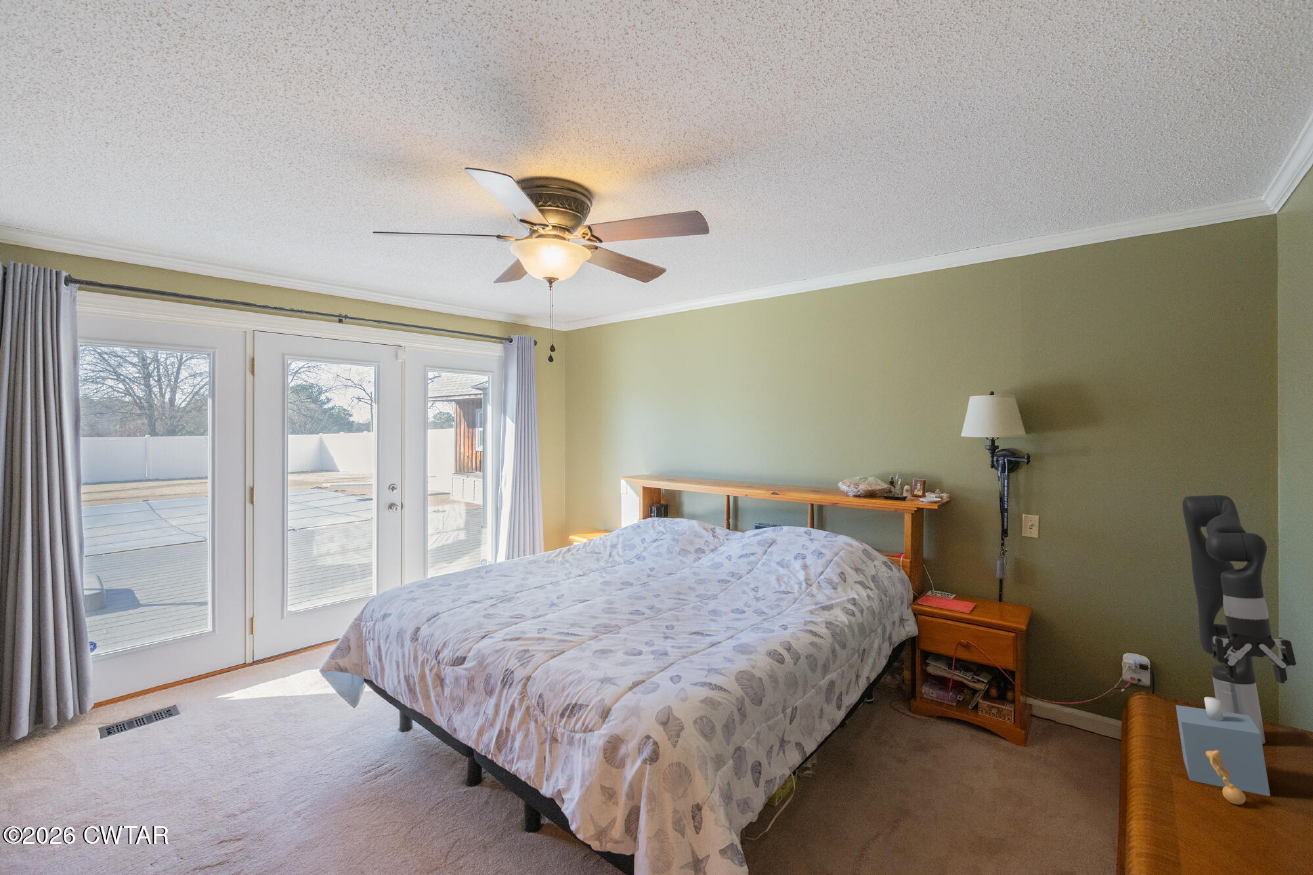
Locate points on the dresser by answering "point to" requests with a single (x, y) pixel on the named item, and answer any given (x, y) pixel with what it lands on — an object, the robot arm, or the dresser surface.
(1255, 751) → the block with white knob
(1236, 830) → the dresser surface
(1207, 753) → the figurine
